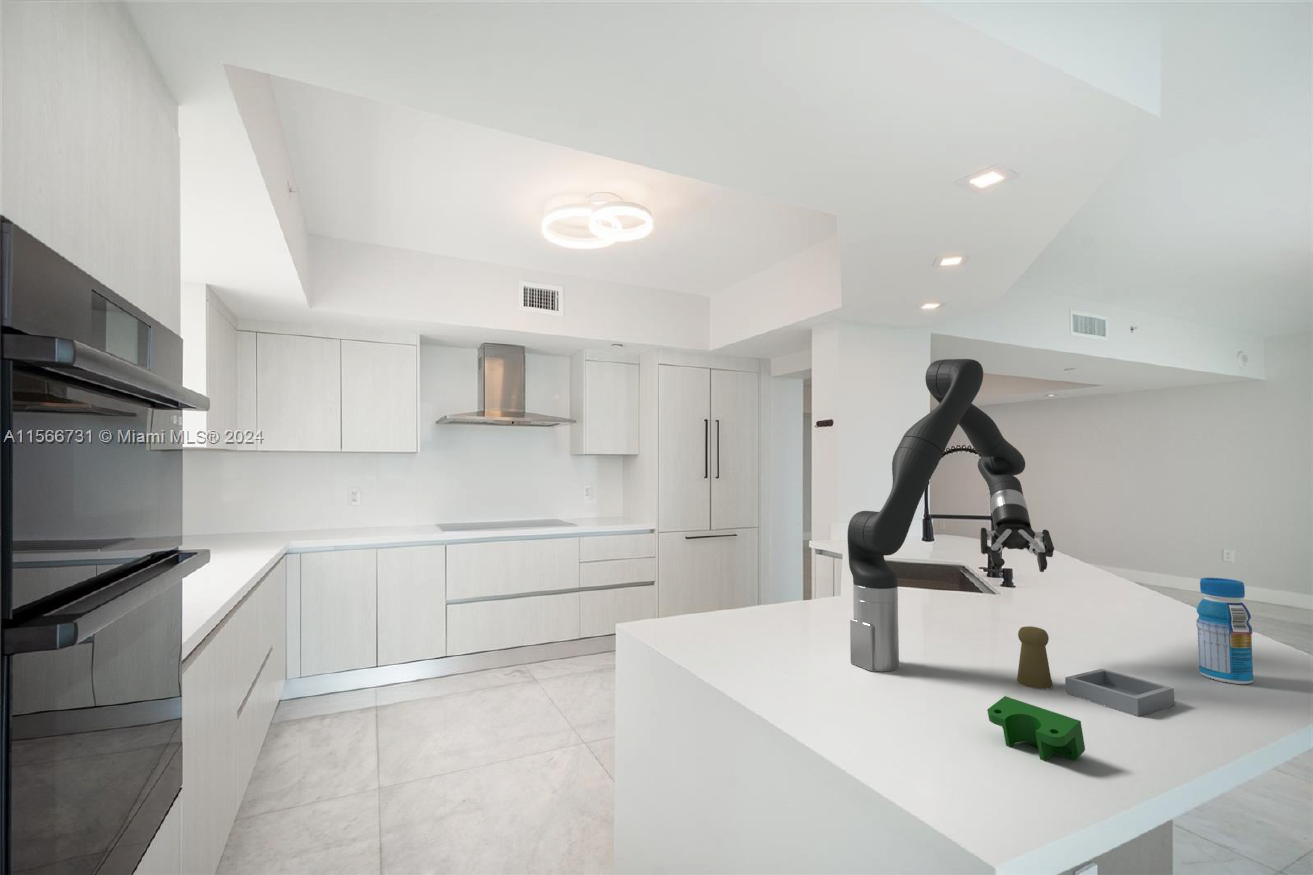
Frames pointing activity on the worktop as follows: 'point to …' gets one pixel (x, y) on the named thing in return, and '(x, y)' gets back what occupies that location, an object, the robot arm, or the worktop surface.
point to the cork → (1034, 658)
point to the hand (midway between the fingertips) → (1020, 568)
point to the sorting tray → (1120, 691)
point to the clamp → (1038, 728)
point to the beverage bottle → (1224, 632)
